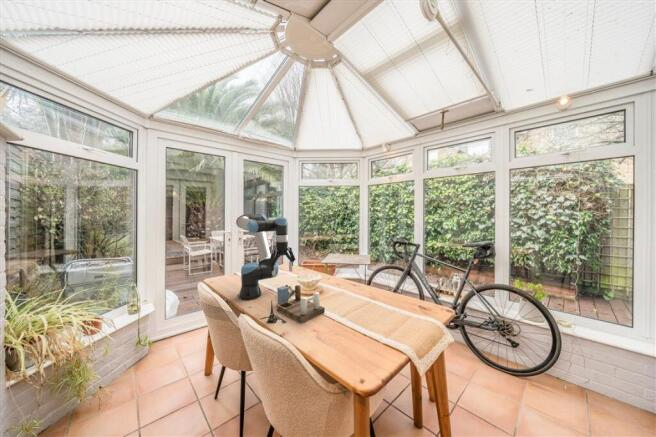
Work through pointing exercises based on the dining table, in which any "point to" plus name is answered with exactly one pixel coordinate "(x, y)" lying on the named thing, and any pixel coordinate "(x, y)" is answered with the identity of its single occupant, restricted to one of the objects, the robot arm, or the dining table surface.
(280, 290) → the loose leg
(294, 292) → the ceramic sculpture
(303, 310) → the hinged leg
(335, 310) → the dining table surface
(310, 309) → the stool seat
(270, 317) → the eiffel tower figurine
